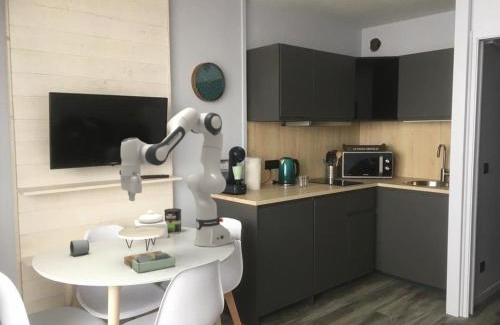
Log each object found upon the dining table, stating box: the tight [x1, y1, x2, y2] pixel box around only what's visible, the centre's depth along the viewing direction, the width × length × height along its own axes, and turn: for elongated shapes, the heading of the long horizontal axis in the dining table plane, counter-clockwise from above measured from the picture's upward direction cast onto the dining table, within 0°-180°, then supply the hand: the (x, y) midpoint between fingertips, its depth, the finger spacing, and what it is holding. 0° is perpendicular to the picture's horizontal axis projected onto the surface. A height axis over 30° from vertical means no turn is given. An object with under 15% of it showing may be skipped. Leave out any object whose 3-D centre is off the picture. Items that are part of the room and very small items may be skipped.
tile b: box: [136, 255, 151, 264], centre depth 195 cm, size 5×5×3 cm
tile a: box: [155, 252, 169, 261], centre depth 199 cm, size 5×5×3 cm
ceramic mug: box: [69, 239, 90, 257], centre depth 222 cm, size 11×8×8 cm
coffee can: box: [163, 207, 183, 235], centre depth 268 cm, size 10×10×14 cm
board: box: [123, 250, 164, 269], centre depth 205 cm, size 18×10×3 cm, turn 123°
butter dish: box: [134, 209, 169, 240], centre depth 258 cm, size 18×18×16 cm
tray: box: [131, 253, 176, 274], centre depth 197 cm, size 17×9×4 cm, turn 123°
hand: (131, 200), depth 206 cm, fingers closed
